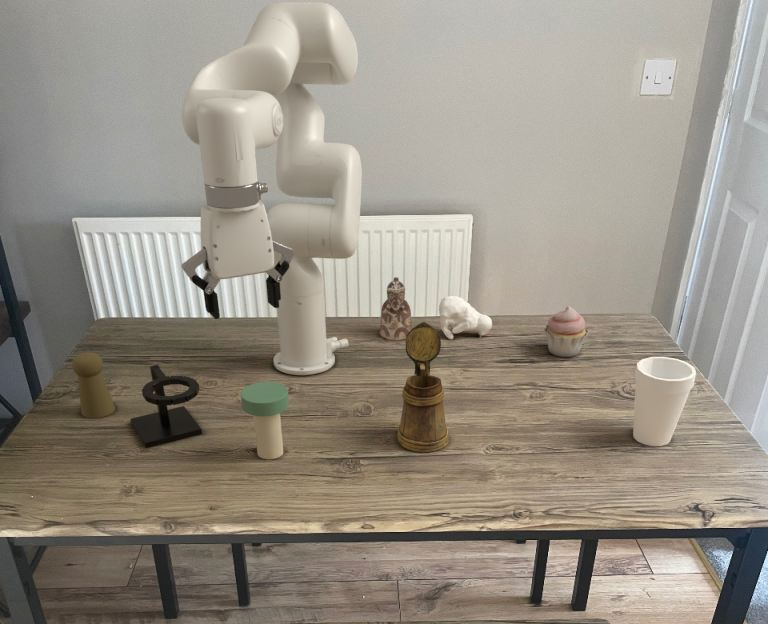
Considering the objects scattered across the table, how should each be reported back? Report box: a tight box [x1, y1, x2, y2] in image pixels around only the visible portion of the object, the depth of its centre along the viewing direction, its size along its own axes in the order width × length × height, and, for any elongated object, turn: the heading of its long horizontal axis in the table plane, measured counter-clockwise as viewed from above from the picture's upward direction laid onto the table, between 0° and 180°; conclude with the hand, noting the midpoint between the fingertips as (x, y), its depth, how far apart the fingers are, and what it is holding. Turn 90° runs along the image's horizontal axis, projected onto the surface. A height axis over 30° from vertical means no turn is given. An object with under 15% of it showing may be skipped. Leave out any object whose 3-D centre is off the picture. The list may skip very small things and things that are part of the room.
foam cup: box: [632, 356, 697, 447], centre depth 136 cm, size 10×9×13 cm
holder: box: [129, 364, 203, 449], centre depth 137 cm, size 10×18×12 cm, turn 29°
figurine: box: [378, 276, 413, 341], centre depth 174 cm, size 7×7×12 cm
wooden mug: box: [397, 321, 450, 453], centre depth 136 cm, size 9×14×18 cm, turn 179°
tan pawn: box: [71, 351, 116, 419], centre depth 146 cm, size 6×6×11 cm
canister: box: [240, 381, 290, 460], centre depth 133 cm, size 8×8×11 cm
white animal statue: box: [438, 295, 493, 340], centre depth 175 cm, size 6×8×12 cm
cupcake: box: [542, 305, 590, 358], centre depth 167 cm, size 9×9×10 cm
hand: (244, 310), depth 125 cm, fingers open, 9 cm apart
